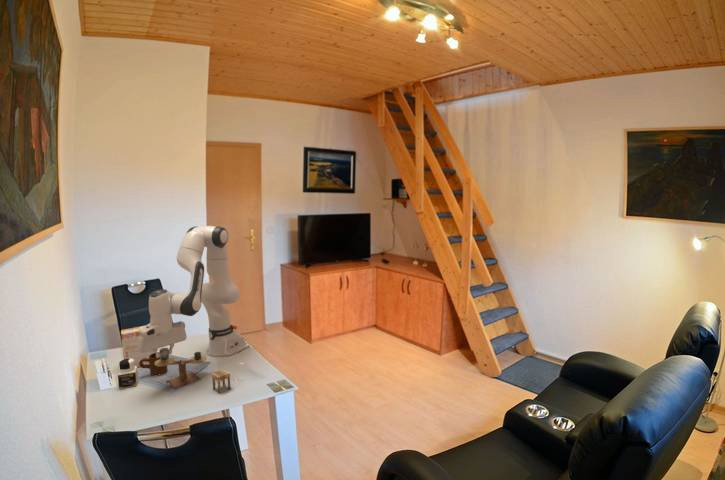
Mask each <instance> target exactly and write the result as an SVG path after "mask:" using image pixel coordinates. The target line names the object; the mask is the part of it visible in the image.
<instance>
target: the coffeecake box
mask: <svg viewBox="0 0 725 480" xmlns="http://www.w3.org/2000/svg"><path fill="white" fill-rule="evenodd" d="M144 326H145V325H142V326H136V327H131V328H125V329H121V330H120V336H121V346H122V355H123V360H124V359H128V358H131V359H134V364H135V366H137V369H138V368H141V367H140V365H139V362H140V360H141V359H143V358H149V356H150V355H151V354H153V353H155V352H154V351H153V350H151V351H147V352H144V353H142V352H140V351H139V350H138V337H139V335H140V333H139V329H141V328H142V327H144ZM143 364H144V365H147V364H148V365H150V364H149V362H145V361H144V362H143Z"/></svg>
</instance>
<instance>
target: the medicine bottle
mask: <svg viewBox="0 0 725 480" xmlns="http://www.w3.org/2000/svg"><path fill="white" fill-rule="evenodd" d="M118 366H119V371H118V373H117V380H118V389H119V390H123V389H127V388H133V387H136V386H138V381H139V373H138V372H139V371H138V368H137V366H135V364H134V359H131V358H128V359H124V358H123V359H122V360H120V361H119V365H118Z"/></svg>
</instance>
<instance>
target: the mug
mask: <svg viewBox="0 0 725 480" xmlns="http://www.w3.org/2000/svg"><path fill="white" fill-rule="evenodd" d="M157 352H158V353H160V352H159V351H157ZM159 359H160V357H159V358H157V357H156V353H153V354H151V355H150V356H149V358H143V359H141V360H140V362H139V365H140V367H139V368H142V369H149V372H150V375H151V376H153V375H159V374H162V375H164V374H163V373H165V372H166V371H168V365H167V366H155V362H156V361H157V360H159ZM144 361H145V362H149V364H150V365H148V364H147V365H144V364H143V362H144ZM166 373H167V372H166ZM166 373H165V374H166ZM159 376H160V375H159Z"/></svg>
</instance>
